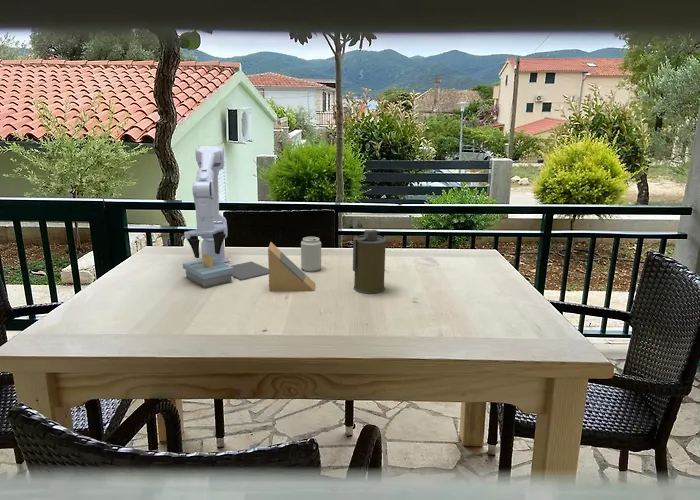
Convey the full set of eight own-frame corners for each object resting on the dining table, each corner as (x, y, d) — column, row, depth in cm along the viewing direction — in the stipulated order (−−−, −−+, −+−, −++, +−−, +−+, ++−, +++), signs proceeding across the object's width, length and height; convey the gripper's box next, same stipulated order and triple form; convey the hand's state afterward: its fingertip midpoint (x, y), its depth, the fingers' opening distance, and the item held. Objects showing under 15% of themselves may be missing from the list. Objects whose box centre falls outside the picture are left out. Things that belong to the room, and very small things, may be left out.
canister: (376, 282, 181) (378, 226, 176) (389, 291, 172) (392, 233, 166) (347, 285, 177) (348, 228, 172) (359, 295, 168) (360, 235, 162)
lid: (183, 268, 182) (181, 253, 180) (212, 262, 189) (211, 248, 188) (203, 279, 171) (202, 264, 169) (234, 272, 178) (233, 257, 176)
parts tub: (186, 277, 182) (185, 265, 181) (212, 271, 189) (211, 260, 188) (204, 287, 172) (204, 275, 171) (231, 281, 179) (231, 269, 178)
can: (318, 272, 190) (318, 241, 186) (299, 271, 191) (298, 240, 188) (323, 266, 197) (323, 236, 194) (303, 265, 198) (303, 235, 195)
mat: (218, 269, 192) (218, 268, 191) (251, 262, 201) (251, 261, 200) (240, 280, 180) (240, 279, 180) (274, 272, 189) (274, 271, 189)
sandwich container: (315, 291, 171) (315, 248, 167) (269, 292, 170) (267, 248, 166) (315, 283, 179) (315, 241, 175) (271, 283, 178) (270, 241, 174)
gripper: (189, 221, 167) (192, 261, 171) (230, 216, 176) (231, 254, 180) (180, 218, 172) (183, 257, 176) (220, 212, 181) (222, 250, 185)
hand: (207, 255), depth 178 cm, fingers open, 7 cm apart
